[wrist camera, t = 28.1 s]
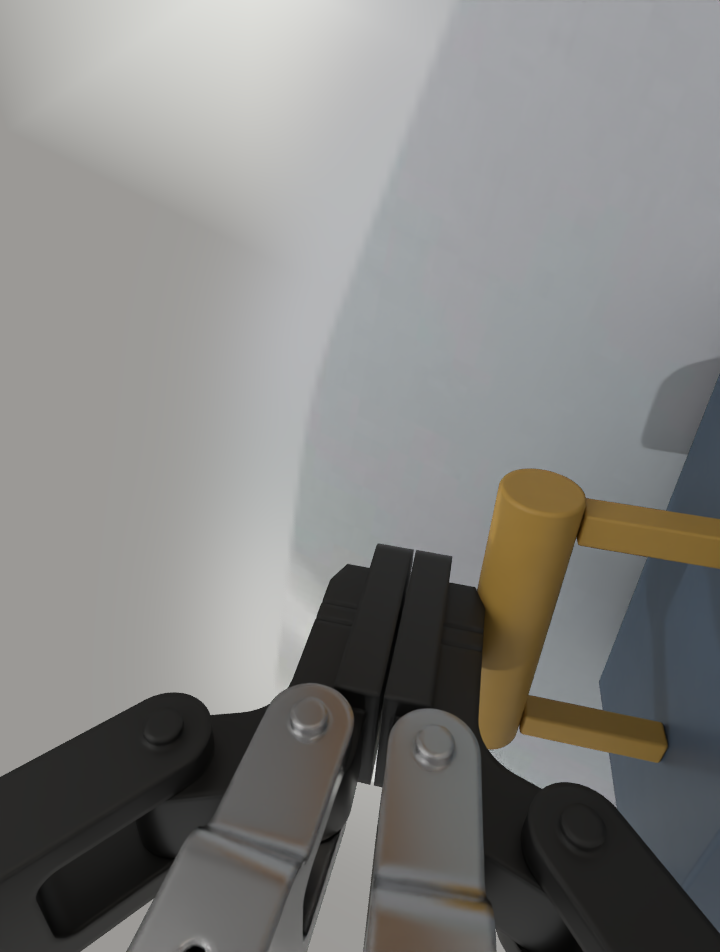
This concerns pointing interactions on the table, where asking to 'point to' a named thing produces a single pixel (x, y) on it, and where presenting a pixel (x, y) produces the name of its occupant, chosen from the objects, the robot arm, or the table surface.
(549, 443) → the table surface
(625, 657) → the drawer
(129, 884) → the robot arm
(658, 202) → the table surface
